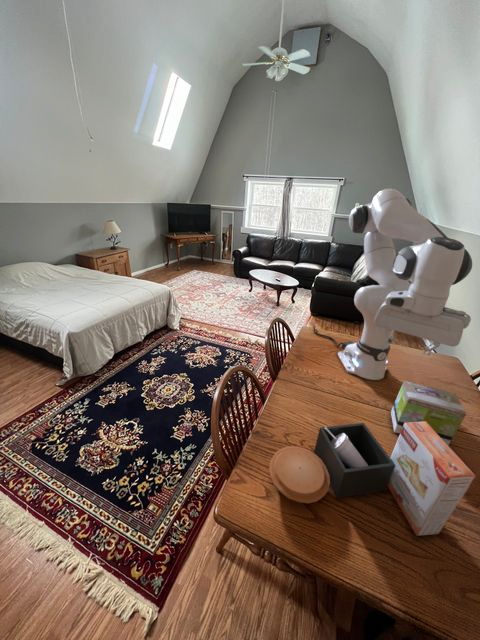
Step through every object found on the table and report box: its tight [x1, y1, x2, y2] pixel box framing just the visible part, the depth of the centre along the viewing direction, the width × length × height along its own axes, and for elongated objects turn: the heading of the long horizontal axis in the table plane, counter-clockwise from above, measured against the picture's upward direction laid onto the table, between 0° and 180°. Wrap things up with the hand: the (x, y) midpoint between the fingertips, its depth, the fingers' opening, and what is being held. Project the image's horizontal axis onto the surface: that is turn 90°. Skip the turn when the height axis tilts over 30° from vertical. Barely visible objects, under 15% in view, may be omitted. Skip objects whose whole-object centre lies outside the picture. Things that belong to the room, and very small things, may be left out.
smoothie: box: [324, 426, 368, 468], centre depth 73 cm, size 6×6×14 cm
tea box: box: [390, 380, 467, 446], centre depth 85 cm, size 15×10×15 cm, turn 68°
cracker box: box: [386, 422, 476, 537], centre depth 62 cm, size 14×6×21 cm, turn 5°
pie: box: [268, 445, 331, 505], centre depth 70 cm, size 16×16×5 cm
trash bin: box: [313, 422, 395, 499], centre depth 72 cm, size 14×14×10 cm
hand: (407, 347), depth 76 cm, fingers open, 8 cm apart
